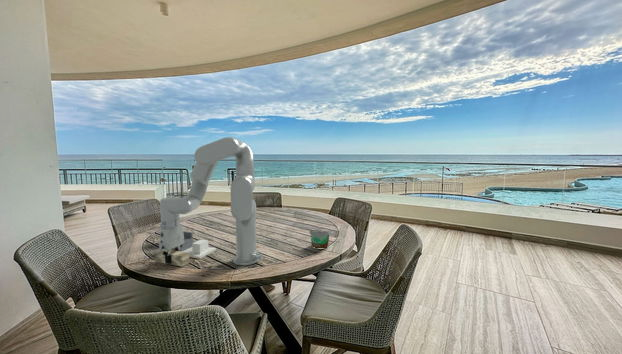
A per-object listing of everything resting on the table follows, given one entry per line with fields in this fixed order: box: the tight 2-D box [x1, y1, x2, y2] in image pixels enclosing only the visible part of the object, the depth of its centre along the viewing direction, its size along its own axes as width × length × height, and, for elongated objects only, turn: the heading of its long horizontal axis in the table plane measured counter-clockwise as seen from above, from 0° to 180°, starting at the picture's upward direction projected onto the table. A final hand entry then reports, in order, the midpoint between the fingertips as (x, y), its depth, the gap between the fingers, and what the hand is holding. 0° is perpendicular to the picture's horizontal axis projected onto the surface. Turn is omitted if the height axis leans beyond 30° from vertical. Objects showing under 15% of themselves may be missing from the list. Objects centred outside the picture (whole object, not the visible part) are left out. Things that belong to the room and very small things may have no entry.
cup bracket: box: [171, 230, 217, 260], centre depth 125 cm, size 24×12×9 cm, turn 72°
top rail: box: [155, 249, 190, 268], centre depth 111 cm, size 16×4×5 cm, turn 72°
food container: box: [308, 228, 331, 249], centre depth 130 cm, size 12×6×10 cm, turn 76°
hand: (172, 260), depth 111 cm, fingers closed on top rail, 4 cm apart
